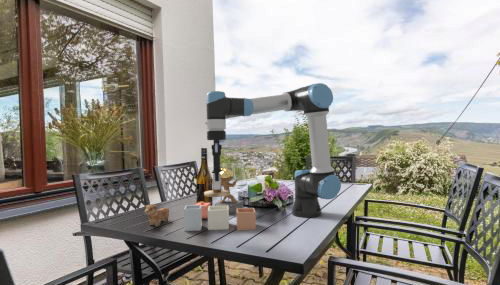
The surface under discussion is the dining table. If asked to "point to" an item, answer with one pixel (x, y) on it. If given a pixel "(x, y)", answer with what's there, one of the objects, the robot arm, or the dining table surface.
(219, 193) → the lid
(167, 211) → the figurine
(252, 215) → the terracotta pot
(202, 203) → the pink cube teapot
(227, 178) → the figurine
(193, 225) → the light blue square vase
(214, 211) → the cream square box
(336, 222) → the dining table surface
